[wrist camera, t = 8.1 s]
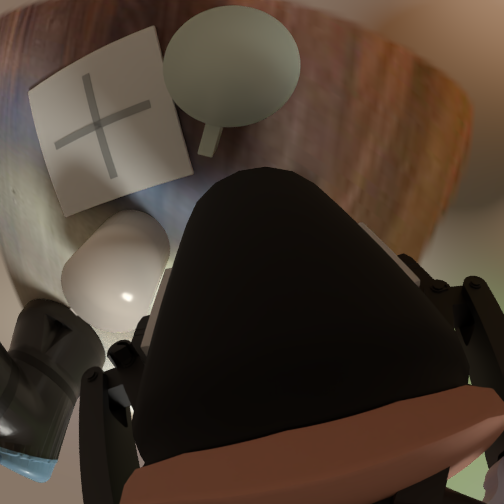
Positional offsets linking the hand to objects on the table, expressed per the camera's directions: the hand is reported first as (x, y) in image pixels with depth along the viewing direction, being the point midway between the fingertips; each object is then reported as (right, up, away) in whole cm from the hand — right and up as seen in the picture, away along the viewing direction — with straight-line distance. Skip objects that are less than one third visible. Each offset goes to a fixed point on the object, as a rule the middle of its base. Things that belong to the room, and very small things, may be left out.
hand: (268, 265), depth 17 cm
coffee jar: (0, +2, +4) cm, 4 cm away
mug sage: (-3, +15, +5) cm, 16 cm away
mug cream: (-14, +1, +12) cm, 18 cm away
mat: (-15, +13, +5) cm, 21 cm away
